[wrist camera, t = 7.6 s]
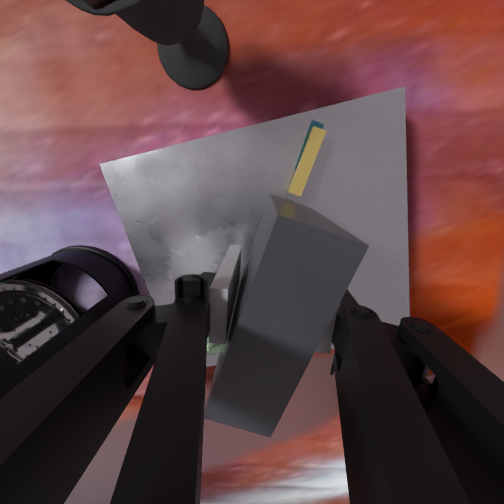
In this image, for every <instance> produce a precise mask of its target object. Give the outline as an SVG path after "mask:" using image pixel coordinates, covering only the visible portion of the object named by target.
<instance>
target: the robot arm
mask: <svg viewBox="0 0 504 504" xmlns="http://www.w3.org/2000/svg"><path fill="white" fill-rule="evenodd" d="M241 250H242V245H232V244H231V245H230V247H229V249H228V251H227V253H226V255H225V257H224V259H223V261H222V263H221V265H220V267H219V270H218V272H217V273H214V272H203V273H201V274H200V275H197V274H187V275H183V276H180V277H178V278H176V279H175V281H174V282H175V301H174V303H172V304H167V305H157V306H155V302H154V299H153V298H151V297H149V296H141V295H137V296H132V297H130V298H127V299H124V300H123V301H121V302H120V303H118V304H117V305H116V306H115V307H113V308H112V309H111V310H110V311H109V312H107V313H106V314H105V315H104V316H102V317H101V318H100V319H99V320H97V321H96V322H95V323H94V324H92V325H91V326H90V327H89V328H88V329H86V330H85V331H84V332H83V333H81V334H80V335H79V336H78V337H76V338H75V339H74V340H73V341H71V342H70V343H69V344H68V345H66V346H65V347H64V348H63V349H62V350H60V351H59V352H58V353H57V354H55V355H54V356H53V357H52V358H50V359H49V360H48V361H47V362H45V363H44V364H43V365H42V366H41V367H39V368H38V369H37V370H36V371H34V372H33V373H32V374H31V375H29V376H28V377H27V378H26V379H24V380H23V381H22V382H21V383H19V384H18V385H17V386H16V387H15V388H13V389H12V390H11V391H10V392H8V393H7V394H6V395H5V396H3V397H2V398H1V399H0V504H64V502H65V501H66V499H67V498H68V496H69V495H70V493H71V492H72V490H73V488H74V487H75V485H76V484H77V482H78V481H79V479H80V478H81V476H82V475H83V473H84V471H85V470H86V468H87V467H88V465H89V464H90V462H91V461H92V459H93V458H94V456H95V454H96V453H97V451H98V450H99V448H100V446H101V445H102V444H103V442H104V440H105V439H106V437H107V436H108V434H109V433H110V431H111V430H112V428H113V427H114V425H115V423H116V422H117V420H118V419H119V417H120V416H121V414H122V413H123V411H124V409H125V408H126V406H127V405H128V403H129V402H130V400H131V399H132V397H133V396H134V394H135V392H136V391H137V389H138V388H139V386H140V385H141V383H142V382H143V380H144V378H145V377H146V375H147V374H148V372H149V371H150V369H151V368H152V366H153V364H154V363H155V364H154V367H153V370H152V373H151V376H150V379H149V383H148V386H147V389H146V392H145V395H144V398H143V402H142V405H141V408H140V411H139V414H138V417H137V420H136V424H135V427H134V430H133V433H132V437H131V439H130V442H129V446H128V449H127V452H126V455H125V458H124V461H123V465H122V468H121V471H120V474H119V477H118V480H117V484H116V487H115V490H114V493H113V496H112V499H111V502H110V504H200V491H201V469H202V447H203V446H202V445H203V424H204V402H205V380H206V358H207V338H208V335H209V343H216V344H226V341H227V336H228V332H229V327H230V323H231V318H232V314H233V309H234V305H235V301H236V296H237V292H238V287H239V283H240V267H241ZM332 343H333V346H334V348H335V354H334V359H333V364H332V368H331V373H330V374H331V375H333V372H334V371H335V379H336V388H337V396H338V405H339V413H340V422H341V430H342V439H343V447H344V456H345V465H346V473H347V482H348V490H349V499H350V504H504V382H503V381H502V380H501V379H499V378H498V377H497V376H496V375H495V374H493V373H492V372H491V371H490V370H488V369H487V368H486V367H485V366H484V365H482V364H481V363H480V362H479V361H477V360H476V359H475V358H474V357H473V356H471V355H470V354H469V353H468V352H466V351H465V350H464V349H463V348H462V347H460V346H459V345H458V344H457V343H455V342H454V341H453V340H452V339H451V338H449V337H448V336H447V335H446V334H444V333H443V332H442V331H441V330H440V329H438V328H437V327H436V326H434V325H433V324H431V323H429V322H427V321H425V320H423V319H420V318H416V317H415V318H414V317H403V318H402V319H401V320H400V324H399V326H397V325H394V324H390V323H386V322H382V321H381V320H380V318H379V316H378V315H377V313H376V312H375V311H373V310H372V309H370V308H368V307H365V306H362V305H359V304H358V303H357V301H356V300H355V299H354V297H353V296H352V295H351V293H350V292H349V291H348V289H347V290H346V292H345V294H344V296H343V298H342V300H341V302H340V304H339V306H338V308H337V309H336V311H335V313H334V315H333V317H332V319H331V321H330V323H329V325H328V327H327V329H326V331H325V333H324V335H323V337H322V339H321V340H320V342H319V344H318V346H317V348H316V350H315V352H318V353H329V354H330V350H331V345H332ZM429 369H430V370H431V371H432V372H433V373H434V375H435V379H434V381H433V383H430V382H429V381H428V379H427V378H426V376H427V373H428V370H429Z"/></svg>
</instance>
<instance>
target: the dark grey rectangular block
mask: <svg viewBox="0 0 504 504" xmlns="http://www.w3.org/2000/svg"><path fill="white" fill-rule="evenodd" d="M325 133H326V130H323V129H320V128H318V127H315V126H313V127H312V129H311V132H310V134H309V137H308V140H307V143H306V145H305V148H304V151H303V153H302V156H301V159H300V161H299V164H298V167H297V169H296V172H295V175H294V178H293V180H292V183H291V186H290V188H289V191H288V192H289V193H292V194H295V195H298V196H300V197H301V195H302V192H303V190H304V187H305V185H306V182H307V179H308V177H309V174H310V172H311V169H312V167H313V164H314V162H315V159H316V156H317V154H318V151H319V149H320V146H321V144H322V141H323V139H324V136H325ZM368 248H369V245H367V244H366V243H364V242H363V241H361V240H360V239H358V238H357V237H355V236H354V235H352V234H351V233H349V232H347V231H346V230H344V229H343V228H341V227H340V226H338V225H337V224H335V223H334V222H332V221H330V220H329V219H327V218H326V217H324V216H323V215H321V214H320V213H318V212H317V211H315V210H314V209H312V208H309V207H306V206H303V205H301V204H298V203H295V202H292V201H289V200H286V199H283V198H280V197H278V196H275V195H272V194H270V195H269V198H268V201H267V204H266V207H265V210H264V212H263V215H262V218H261V221H260V224H259V227H258V230H257V233H256V235H255V238H254V241H253V244H252V247H251V250H250V253H249V256H248V258H247V261H246V264H245V267H244V270H243V273H242V276H241V279H240V283H239V287H238V292H237V296H236V301H235V305H234V309H233V314H232V318H231V323H230V327H229V332H228V336H227V341H226V344H221V348H220V352H219V356H218V360H217V364H216V368H215V372H214V376H213V380H212V384H211V388H210V391H209V395H208V399H207V403H206V407H205V411H204V418H205V419H208V420H212V421H215V422H218V423H222V424H226V425H229V426H232V427H236V428H239V429H243V430H246V431H250V432H253V433H257V434H260V435H264V436H267V437H271V435H272V433H273V431H274V429H275V427H276V426H277V424H278V422H279V420H280V418H281V416H282V414H283V412H284V410H285V408H286V406H287V404H288V402H289V400H290V399H291V397H292V395H293V393H294V391H295V389H296V387H297V385H298V383H299V381H300V379H301V377H302V375H303V373H304V371H305V369H306V368H307V366H308V364H309V362H310V360H311V358H312V356H313V354H314V352H315V350H316V348H317V346H318V344H319V342H320V340H321V339H322V337H323V335H324V333H325V331H326V329H327V327H328V325H329V323H330V321H331V319H332V317H333V315H334V313H335V311H336V309H337V308H338V306H339V304H340V302H341V300H342V298H343V296H344V294H345V292H346V290H347V288H348V286H349V284H350V282H351V280H352V278H353V277H354V275H355V273H356V271H357V269H358V267H359V265H360V263H361V261H362V259H363V257H364V255H365V253H366V251H367V249H368Z"/></svg>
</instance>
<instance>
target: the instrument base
mask: <svg viewBox="0 0 504 504" xmlns="http://www.w3.org/2000/svg"><path fill="white" fill-rule="evenodd" d="M313 126H315V127H318V128H320V129H323V130H326V133H325V136H324V139H323V141H322V144H321V146H320V149H319V151H318V154H317V156H316V159H315V162H314V164H313V167H312V169H311V172H310V174H309V177H308V179H307V182H306V185H305V187H304V190H303V192H302V195H301V197H300V196H298V195H295V194H292V193H289V192H288V191H289V188H290V186H291V183H292V180H293V178H294V175H295V172H296V169H297V167H298V164H299V161H300V159H301V156H302V153H303V151H304V148H305V145H306V143H307V140H308V137H309V134H310V132H311V129H312V127H313ZM100 167H101V169H102V172H103V174H104V177H105V180H106V182H107V185H108V187H109V190H110V193H111V195H112V198H113V200H114V203H115V205H116V208H117V211H118V213H119V216H120V218H121V221H122V224H123V226H124V229H125V231H126V234H127V237H128V239H129V242H130V244H131V247H132V250H133V252H134V255H135V257H136V260H137V262H138V265H139V268H140V270H141V273H142V275H143V278H144V281H145V283H146V286H147V288H148V291H149V294H150V296H151V298H153V299H154V302H155V306H157V305H167V304H172V303H174V301H175V282H174V281H175V279H176V278H178V277H180V276H183V275H187V274H197V275H200V274H201V273H203V272H214V273H217V272H218V270H219V267H220V265H221V263H222V261H223V259H224V257H225V255H226V253H227V251H228V249H229V247H230V245H231V244H232V245H242V250H241V267H240V279H241V276H242V273H243V270H244V267H245V264H246V261H247V258H248V256H249V253H250V250H251V247H252V244H253V241H254V238H255V235H256V233H257V230H258V227H259V224H260V221H261V218H262V215H263V212H264V210H265V207H266V204H267V201H268V198H269V195H270V194H272V195H275V196H278V197H280V198H283V199H286V200H289V201H292V202H295V203H298V204H301V205H303V206H306V207H309V208H312V209H314V210H315V211H317V212H318V213H320V214H321V215H323V216H324V217H326V218H327V219H329V220H330V221H332V222H334V223H335V224H337V225H338V226H340V227H341V228H343V229H344V230H346V231H347V232H349V233H351V234H352V235H354V236H355V237H357V238H358V239H360V240H361V241H363V242H364V243H366V244H367V245H369V248H368V249H367V251H366V253H365V255H364V257H363V259H362V261H361V263H360V265H359V267H358V269H357V271H356V273H355V275H354V277H353V278H352V280H351V282H350V284H349V286H348V288H347V289H348V291H349V292H350V293H351V295H352V296H353V297H354V299H355V300H356V301H357V303H358V304H359V305H362V306H365V307H368V308H370V309H372V310H373V311H375V312H376V313H377V315H378V316H379V318H380V320H381V321H382V322H386V323H390V324H394V325H397V326H399V324H400V320H401V319H402V318H403V317H410V302H409V255H408V208H407V161H406V114H405V86H404V87H401V88H397V89H393V90H389V91H385V92H381V93H377V94H373V95H369V96H365V97H361V98H357V99H353V100H349V101H346V102H342V103H338V104H334V105H330V106H326V107H322V108H318V109H314V110H310V111H306V112H302V113H298V114H295V115H291V116H287V117H283V118H279V119H275V120H271V121H267V122H263V123H259V124H255V125H251V126H247V127H243V128H240V129H236V130H232V131H228V132H224V133H220V134H216V135H212V136H208V137H204V138H200V139H196V140H192V141H189V142H185V143H181V144H177V145H173V146H169V147H165V148H161V149H157V150H153V151H149V152H145V153H141V154H137V155H134V156H130V157H126V158H122V159H118V160H114V161H110V162H106V163H102V164H100ZM220 348H221V344H216V343H209V335H208V338H207V358H206V367H208V366H215V365H216V364H217V360H218V356H219V352H220ZM331 349H334V346H333V343H332V345H331Z"/></svg>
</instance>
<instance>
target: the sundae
mask: <svg viewBox="0 0 504 504" xmlns="http://www.w3.org/2000/svg"><path fill="white" fill-rule="evenodd" d="M66 1H67V2H69V3H71V4H72V5H74V6H75V7H77V8H78V9H80V10H82V11H85V12H87V13H90V14H93V15H103V16H109V15H113V14H116V15H117V16H119V17H120V18H121V19H122V20H124V21H125V22H126V23H127V24H128V25H130V26H131V27H132V28H133V29H134V30H136V31H138V32H139V33H141V34H142V35H144V36H145V37H147V38H149V39H150V40H152V41H154V42H156V43H157V46H158V54H159V58H160V61H161V64H162V66H163V68H164V70H165V71H166V73H167V74H168V76H169V77H170V78H171V79H172V80H173V81H175V82H176V83H177V84H178V85H181V86H183V87H185V88H189V89H200V88H205V87H207V86H208V85H210V84H212V83H213V82H214V81H216V80H217V78H218V77H219V76H220V74H221V73H222V71H223V69H224V67H225V64H226V61H227V56H228V41H227V34H226V32H225V29H224V26H223V24H222V22H221V20H220V19H219V18H218V16H217V15H216V14H215V13H214V12H213V11H212V10H211V9H210V8H209V7H207V6H205V5H204V0H66Z"/></svg>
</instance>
